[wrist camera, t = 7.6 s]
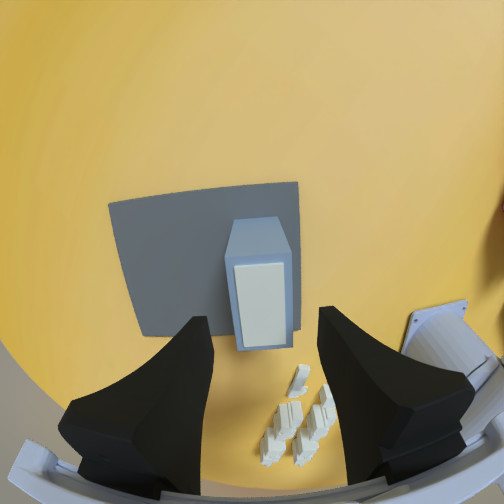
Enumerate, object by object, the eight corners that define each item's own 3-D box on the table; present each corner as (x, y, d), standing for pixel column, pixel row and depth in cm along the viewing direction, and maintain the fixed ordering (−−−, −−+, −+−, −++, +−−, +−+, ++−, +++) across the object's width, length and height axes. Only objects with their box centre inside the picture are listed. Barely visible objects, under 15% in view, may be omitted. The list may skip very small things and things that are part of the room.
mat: (299, 326, 22) (300, 329, 22) (144, 333, 23) (143, 335, 22) (297, 181, 18) (298, 182, 18) (110, 202, 19) (108, 203, 18)
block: (281, 287, 21) (293, 349, 14) (241, 290, 21) (237, 353, 14) (277, 216, 19) (292, 254, 12) (234, 219, 19) (223, 259, 12)
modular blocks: (306, 443, 31) (310, 466, 27) (258, 444, 30) (259, 467, 26) (357, 343, 24) (371, 371, 20) (290, 341, 23) (295, 372, 20)
